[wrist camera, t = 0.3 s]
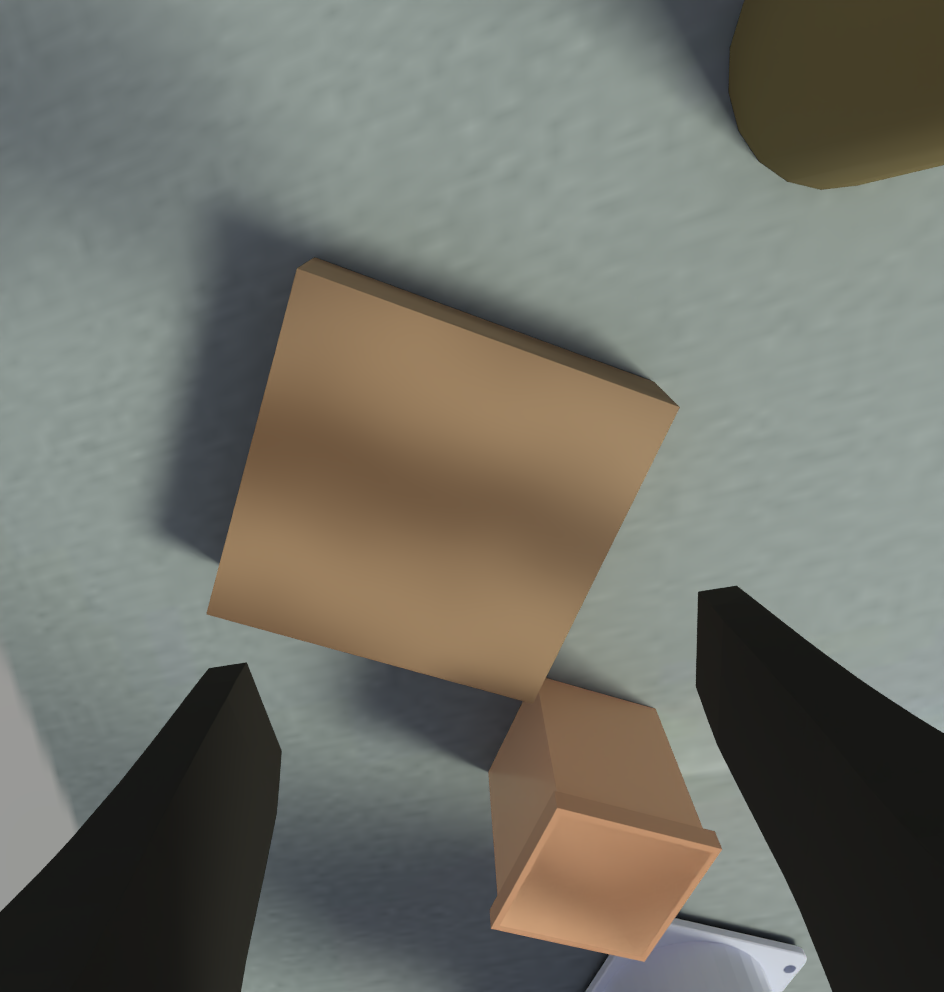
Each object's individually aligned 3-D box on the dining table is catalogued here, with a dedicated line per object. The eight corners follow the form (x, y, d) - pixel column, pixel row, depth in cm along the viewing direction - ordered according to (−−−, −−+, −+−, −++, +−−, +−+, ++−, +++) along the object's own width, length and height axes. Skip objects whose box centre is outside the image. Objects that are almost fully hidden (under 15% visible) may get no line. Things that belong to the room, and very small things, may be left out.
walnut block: (524, 654, 25) (532, 703, 22) (229, 570, 23) (206, 614, 21) (654, 381, 21) (679, 407, 19) (314, 257, 19) (296, 268, 17)
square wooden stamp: (604, 805, 28) (644, 962, 22) (481, 774, 27) (490, 928, 21) (662, 705, 26) (722, 849, 20) (532, 668, 25) (557, 807, 19)
